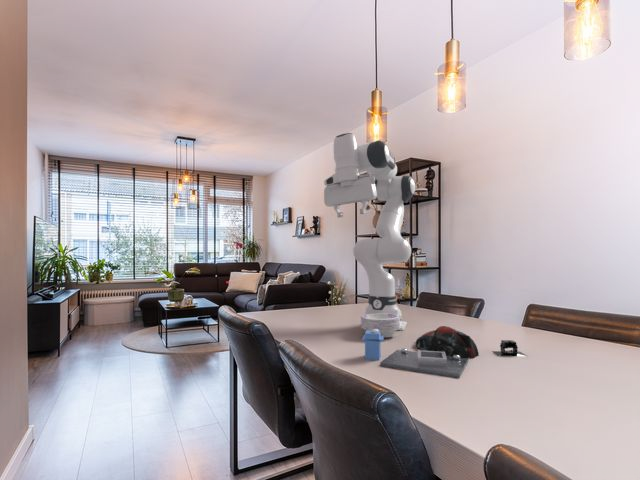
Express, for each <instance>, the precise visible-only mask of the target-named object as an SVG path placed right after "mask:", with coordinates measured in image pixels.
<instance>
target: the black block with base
mask: <svg viewBox="0 0 640 480" xmlns="http://www.w3.org/2000/svg"><path fill="white" fill-rule="evenodd" d="M499 347H500V351H499V350H498V351H497V350H496V351H493V350H492V351H491V353H493V354H494V355H496V356H498V357H528V355H527V354H525V353H523V352H522V351H519V350H518V344H517V342H516V341H514V340H510V339H502V340H500V343H499ZM506 349H511V350H506Z"/></svg>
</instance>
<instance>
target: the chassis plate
mask: <svg viewBox="0 0 640 480" xmlns="http://www.w3.org/2000/svg"><path fill="white" fill-rule="evenodd" d="M469 361H470V360H469V358H460V355H453V357H451V356H447V355H446V354H445V352H439V351H425V350H422V349H420V350H419V349H417V351H409V350H408V348H406V347H405V348H404V347H403V348H401V349H396V350H395V351H394V352H392V353H391V354H389V355H388V356H387V357H385V358H384V359H383V360H381V361H380V362H379V364H380V366H381V367H386V368H392V369H397V370H398V369H399V370H406V371H413V372H417V373H425V374H426V373H427V374H430V375H431V374H432V375H438V376H446V377H452V378H461V376H462V374H463V372H464V371H465V369H466V367H467V366H468V364H469Z"/></svg>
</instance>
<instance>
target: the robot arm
mask: <svg viewBox="0 0 640 480" xmlns="http://www.w3.org/2000/svg"><path fill="white" fill-rule="evenodd" d="M333 160H334V163H335V169H334V171H335V173H334V174H332V175H330V176H329V177H327V178H326V179H325V180H324V181H323V183H324V186H325V187H324V190H323V201H324V202H323V203H324V205H325V206H326V207H329V208H330V207H333V209H334V211H335V213H336V216H337V217H336V218H338V219H339V218H343V217H344V212H342V211H341V210H340V208H341V206H343V205H347V204H348V205H350V204H355V203H362V207H361V208H360V209H359V214H360V215H364V214H365V215H366V214H367V208H368V205H369V201H376V202H383V201H386V202H385V203H384V205H383V207H382V209H381V211H380V212H379V213H380V214H379V216H378V219H377V223H376V226H375V232H376V234H377V235H378V236H379V237H380V238H364V239H362V240H357V241H356V242H355V244H354V246H353V250H352V253H353V256H354V259H355V260H356V261H357V262H358V263H359V264H360V265H361V266H362V267H363V269H364V270H365V272H366V275H367V278H368V290H369V291H368V298H367V303H368V305H367V307H366V308H365V312H364V315H366V314H374V313H387V314H395V315H398V316H399V317H400V329H398V330H397V331H404V330H405V329H406V327H407V325H408V322H407V321H403V320H402V318H403V317H402V310H401V309H400V307H399V306H398V305H397V303H398V301H397V300H398V294H397V295H396V285H395V284H396V282H395V281H396V280H395V277H394V276H393V275H392V274H391V273H389V272H387V271H386V270H385V269H384V266H383V264H385V265H386V264H387V265H388V264H389V265H390V264H392V265H393V264H394V265H395V264H396V265H397V264H402V263H406V262H407V261H409V259H410V257H411V255H412V247H411V244H410V243H409V241H408V240H406V239H405V238H404V237H403V236H402V234H401V230H402V226H403V222H404V216H405V205H404V203H406V204H407V203H408V202H409V201H410V199H412V197H413V196H414V195H415V192H416V183H415V179H414V178H413V177H412V176H410V175H403V176H402V175H401V176H400V175H398V176H397V173H398V166H397V164H396V159H395V155H394V154H393V153H392V152H391V151H390V149H389V148H388V145H387V144H386V143H385V142H384V141H381V140H380V139H379V140H376V141H372V142H370V143H366V144H362V145H358V143H357V139H356V136H355V133H352V132H347V133H342V134H338V135H336V136H335V137H334V139H333ZM361 172H366V173H365V174H361Z"/></svg>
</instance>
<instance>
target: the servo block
mask: <svg viewBox="0 0 640 480" xmlns="http://www.w3.org/2000/svg"><path fill="white" fill-rule="evenodd" d="M384 339H385V338H384V336H381V335H380V331H378V329H372V331H368V330H367V331H366V330H365V332H364V335H363V336H362V338H361V342H364V360H372V361H380V360H381V356H382V354H381V353H382V351H381V347H382V344H381V343H383V342H384Z"/></svg>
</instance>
